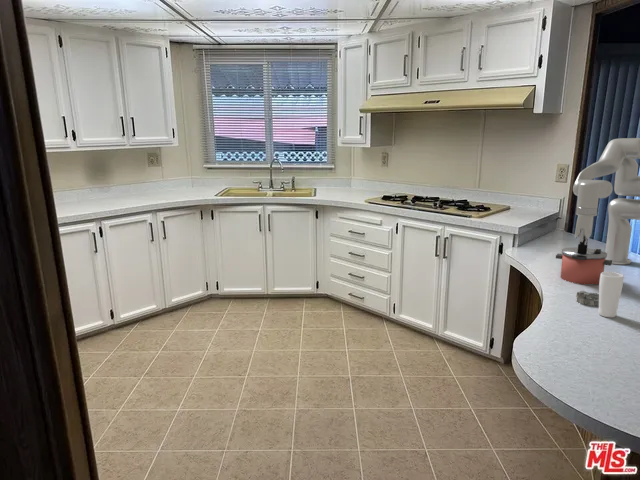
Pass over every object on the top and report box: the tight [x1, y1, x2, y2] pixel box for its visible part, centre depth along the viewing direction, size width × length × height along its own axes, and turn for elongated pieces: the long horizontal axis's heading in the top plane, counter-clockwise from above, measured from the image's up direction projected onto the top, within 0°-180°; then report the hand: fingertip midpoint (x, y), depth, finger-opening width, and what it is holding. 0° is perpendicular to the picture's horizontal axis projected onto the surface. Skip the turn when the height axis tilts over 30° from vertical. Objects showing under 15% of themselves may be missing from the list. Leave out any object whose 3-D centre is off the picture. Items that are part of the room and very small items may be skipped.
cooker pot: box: [555, 253, 613, 285], centre depth 191 cm, size 18×21×11 cm
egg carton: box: [575, 290, 599, 307], centre depth 164 cm, size 11×8×4 cm
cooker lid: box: [561, 247, 607, 260], centre depth 188 cm, size 20×17×3 cm
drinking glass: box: [597, 271, 624, 318], centre depth 151 cm, size 7×7×15 cm
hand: (581, 253), depth 185 cm, fingers closed
